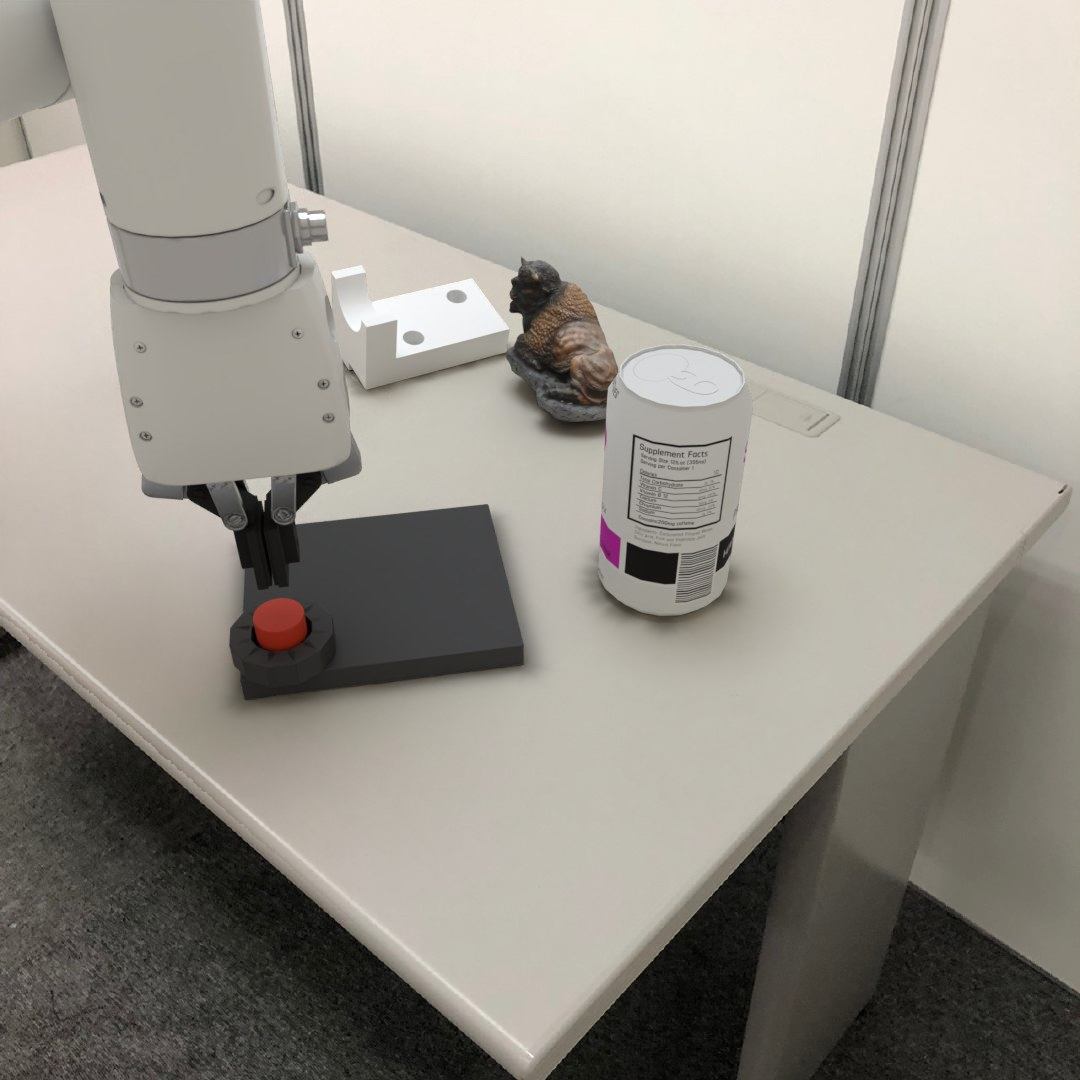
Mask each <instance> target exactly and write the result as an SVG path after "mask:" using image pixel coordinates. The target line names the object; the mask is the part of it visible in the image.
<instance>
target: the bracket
mask: <svg viewBox="0 0 1080 1080" xmlns="http://www.w3.org/2000/svg"><path fill="white" fill-rule="evenodd" d="M330 284H331V285H330V286H331V287H330V290H331V291H330V293H331V309H332V313H333V317H334V321H335V326H336V331H337V336H338V341H339V346H340V351H341V356H342V361H343V364H344V365H345V367H346V368H347V370H348V371H352V370H353V372H354V373H355V375H356V377H357V378H358V380H359V381H360V383H361V385H362V386H363V388H364V390H365V391H367V390H371V389H375V388H378V387H383V386H386V385H391V384H394V383H397V382H400V381H405V380H409V379H411V378H416V377H419V376H424V375H426V374H427V375H428V374H431V373H434V372H437V371H442V370H445V369H449V368H453V367H457V366H460V365H464V364H468V363H472V362H475V361H480V360H483V359H486V358H487V359H488V358H491V357H494V356H498V355H501V354H506V351H507V350H508V343H509V335H510V330H511V329H510V327H509V326H508V325H507V323H506V322H505V320H504V319H503V317H502V316H501V315H500V314H499V313H498V311H497V310H496V309H495V307H494V306H493V304H492V303H491V302H490V301H489V299H488V298H487V296H486V295H485V294H484V293H483V291H482V290H481V288H480V287H479V286H478V284H477V283H476V281H475V280H474V279H473V278H472V277H471V278H467V279H463V280H459V281H455V282H450V283H445V284H441V285H438V286H433V287H429V288H425V289H420V290H416V291H413V292H407V293H403V294H399V295H395V296H391V297H386V298H382V299H378V300H373V301H372V299H371V296H370V292H369V287H368V282H367V272H366V270H365V268H364V267H363V265H362V264H360V265H355V266H350V267H347V268H342V269H337V270H332V271H330Z"/></svg>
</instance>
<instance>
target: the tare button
mask: <svg viewBox="0 0 1080 1080" xmlns="http://www.w3.org/2000/svg"><path fill="white" fill-rule="evenodd" d="M253 623H254V627H255V632H256V637H257V641H258V643H259V644H260V645H261V646H262V647H263V648H265V649H267V650H270V651H282V650H290V649H292V648H294V647H296V646H298V645H299V644H301V643H302V642H303V641H304V639H305V638H306V635H307V625H306V620H305V614H304V609H303V607H302V606H301V604H299V603H298V602H297V601H295V600H292V599H287V598H279V599H273V600H270V601H267V602H265V603H263V604H262V605H261V606H259V607H258V608H257V609H256V611H255V613H254V615H253Z"/></svg>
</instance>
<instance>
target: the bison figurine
mask: <svg viewBox="0 0 1080 1080" xmlns="http://www.w3.org/2000/svg"><path fill="white" fill-rule="evenodd" d="M520 263H521V265H520V267H519V268H518V270H517V272H518V273H517V276H514V277H512V278H511V279H510V283H511V288H510V290H509V297H510V300H511V301H510V303H509V308H508V310H509V311H508V312H509V313H510V314H520V315H521V317H522V319H521V323H522V324H521V325H522V331H523V333H519V334H518V336H517V337H516V340H515V342H514V344H513V346H511V347H509V348H507V351H506V352H505V359H506V361H507V362H508V364H509V366H510V369H511V372H513V373H514V374H515V375H516V376H518V377H520V378H521V379H522V380H523V381H525V382H526V383H527V384H528V385H529V386H530V387H531V388H532V390H533V391H534V392H535V393H536V400H537V404H538V406H539V407H541V408H542V409H544V410H545V411H546V412H548V413H550V414H551V416H552V417H553V418H554V419H556V420H560V421H562V422H563V421H564V422H570V423H579V422H592V421H593V422H594V421H599V420H606V411H607V395H608V387H609V386H610V384H611V383H612V381H613V380H614V378H615V377H616V375H617V374H618V372H619V367H618V363H617V361H616V357H615V355H614V352H613V350H612V349H611V348H610V347H609V344H608V342H607V338H606V335H605V333H604V330H603V329H602V326H601V324H600V321H599V318H598V315H597V312H596V309H595V308H594V305H593V304H592V301H590V300H589V299H588V296H587V293H585V292H584V291H583V290H582V288H581V287H579V285H578V284H577V283H574V282H569V281H563V280H562V279H561V277H560V274H559V272H558V271H557V269H556V268H555V267H554V266H553V265H551V264H550V263H548V262H547V261H544V260H542V259H536V260H526V259H525V257H523V256H521V257H520Z"/></svg>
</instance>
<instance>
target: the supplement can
mask: <svg viewBox="0 0 1080 1080" xmlns="http://www.w3.org/2000/svg"><path fill="white" fill-rule="evenodd" d="M753 411H754V405H753V395H752V393H751V390H750V388H749V386H748V384H747V382H746V379H745V371H744V370H743V368H742V367H741V366H740V365H739V364H738V363H737V361H736V360H735V359H732V358H730V357H729V356H727V355H725V354H724V353H722V352H720V351H717V350H714V349H710V348H707V347H704V346H699V345H692V344H684V343H678V344H677V343H673V344H658V345H653V346H649V347H644V348H641V349H639V350H637V351H635V352H633V353H631V354H629V355H627V357H626V358H625V359H624V360H623V361H622V363H621V364H620V365H619V370H618V374H617V375H616V377H615V378H614V380H613V381H612V383H611V384H610V386H609V387H608V395H607V411H606V419H605V429H604V430H605V433H604V448H603V449H604V451H603V472H602V487H601V489H602V490H601V507H600V508H601V510H600V528H599V545H598V546H599V547H598V548H599V549H598V550H599V551H598V567H597V575H598V577H599V580H600V581H601V583H602V585H603V588H604V589H605V590H606V591H607V592H608V593H609V594H610V595H612V596H613V597H614V598H615V599H616V600H617V601H619V602H621V603H622V604H623V605H624V606H627V607H629V608H630V609H633V610H635V611H637V612H639V613H643V614H648V615H653V616H657V617H673V616H674V617H675V616H682V615H685V614H689V613H692V612H695V611H698V610H700V609H703V608H705V607H707V606H708V605H710V604H711V603H713V602H714V601H715V600H717V598H719V597H720V596H721V595H722V593H723V590H724V589H725V587H726V585H727V583H728V577H729V571H730V565H731V558H732V550H733V545H734V538H735V531H736V524H737V519H738V512H739V511H738V510H739V504H740V499H741V498H740V497H741V493H742V492H741V491H742V484H743V480H744V479H743V477H744V471H745V465H746V458H747V451H748V445H749V444H748V443H749V437H750V431H751V425H752V418H753Z"/></svg>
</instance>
